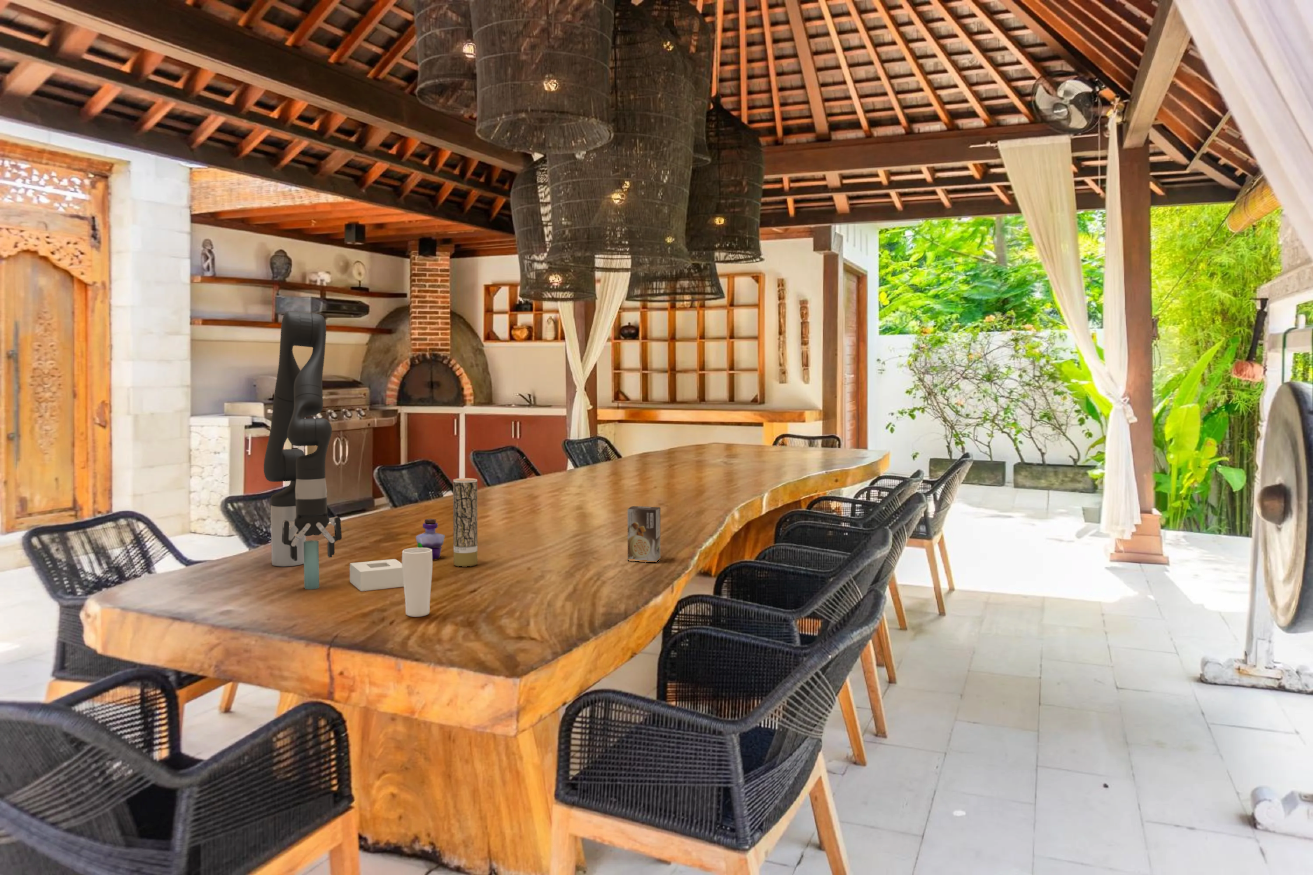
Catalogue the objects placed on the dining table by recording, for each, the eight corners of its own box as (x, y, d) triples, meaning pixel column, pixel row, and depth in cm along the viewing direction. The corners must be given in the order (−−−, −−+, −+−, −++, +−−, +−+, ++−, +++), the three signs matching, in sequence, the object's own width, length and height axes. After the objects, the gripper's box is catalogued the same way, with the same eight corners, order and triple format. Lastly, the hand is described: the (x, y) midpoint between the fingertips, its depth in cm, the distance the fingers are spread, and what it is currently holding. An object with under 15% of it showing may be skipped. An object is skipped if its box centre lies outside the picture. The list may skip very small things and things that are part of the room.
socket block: (349, 581, 242) (349, 563, 241) (395, 577, 248) (395, 558, 247) (360, 591, 231) (360, 571, 231) (407, 585, 238) (407, 567, 237)
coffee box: (661, 559, 276) (661, 506, 274) (656, 563, 269) (656, 509, 268) (632, 557, 278) (632, 505, 277) (626, 561, 271) (626, 508, 270)
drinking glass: (405, 610, 213) (404, 547, 212) (434, 610, 213) (434, 547, 212) (399, 618, 206) (399, 553, 205) (430, 618, 207) (429, 552, 206)
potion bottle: (409, 559, 271) (409, 519, 270) (427, 554, 279) (427, 515, 278) (433, 562, 268) (433, 522, 267) (451, 557, 276) (450, 517, 275)
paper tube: (471, 568, 260) (471, 481, 259) (449, 566, 262) (449, 480, 260) (481, 563, 267) (480, 478, 265) (459, 562, 268) (459, 477, 267)
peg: (303, 586, 235) (302, 541, 235) (317, 585, 237) (317, 539, 236) (305, 589, 232) (305, 543, 231) (320, 588, 234) (319, 542, 233)
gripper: (336, 492, 240) (337, 553, 241) (279, 496, 233) (280, 559, 234) (343, 495, 234) (344, 558, 235) (284, 499, 226) (285, 564, 227)
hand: (312, 558), depth 234 cm, fingers open, 8 cm apart
